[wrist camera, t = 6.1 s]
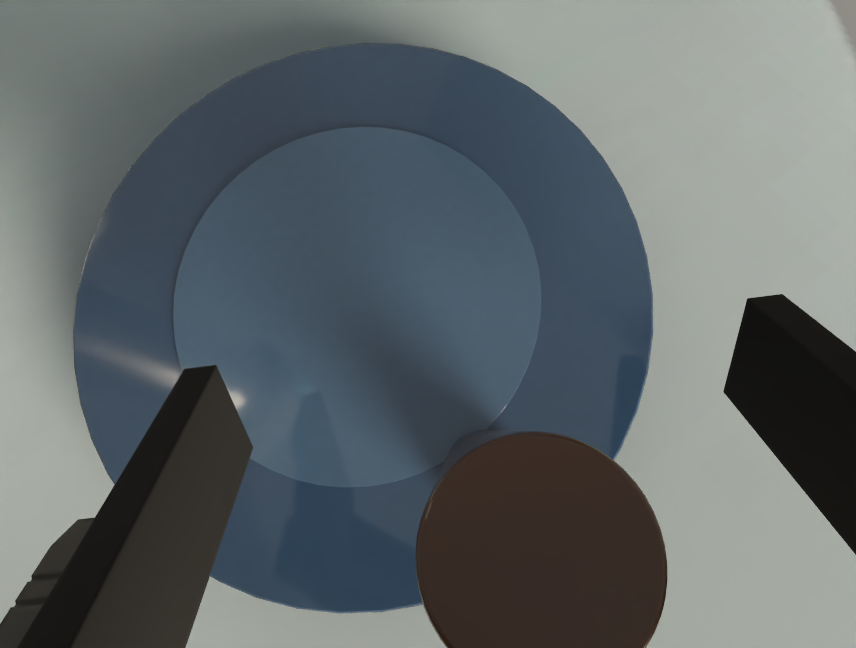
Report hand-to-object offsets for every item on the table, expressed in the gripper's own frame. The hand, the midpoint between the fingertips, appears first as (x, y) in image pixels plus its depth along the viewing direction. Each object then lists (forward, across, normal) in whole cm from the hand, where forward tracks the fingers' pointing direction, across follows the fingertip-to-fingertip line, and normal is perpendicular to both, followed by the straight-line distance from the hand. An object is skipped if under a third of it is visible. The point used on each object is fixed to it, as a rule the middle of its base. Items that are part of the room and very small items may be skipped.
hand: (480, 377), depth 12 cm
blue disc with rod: (+6, -3, -1) cm, 7 cm away
